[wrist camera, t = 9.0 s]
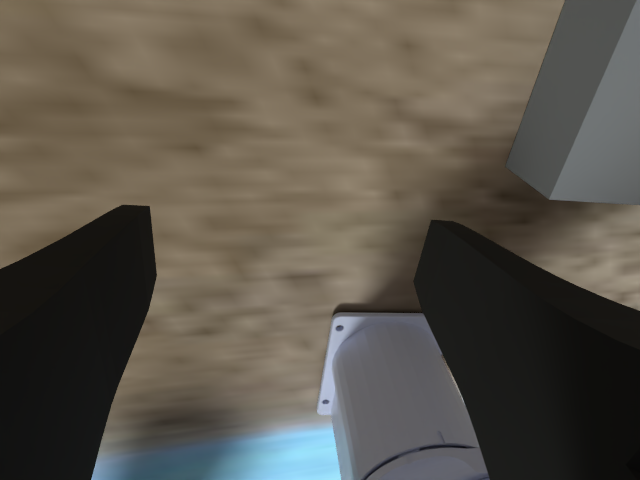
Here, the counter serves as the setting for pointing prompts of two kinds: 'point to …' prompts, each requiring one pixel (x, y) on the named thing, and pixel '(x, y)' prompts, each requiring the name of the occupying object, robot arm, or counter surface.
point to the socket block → (585, 108)
